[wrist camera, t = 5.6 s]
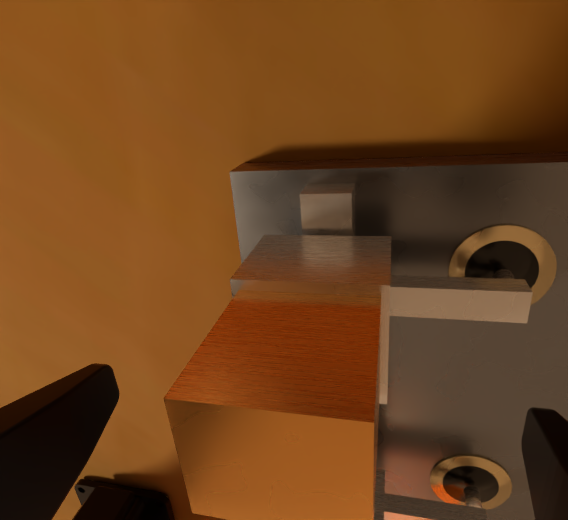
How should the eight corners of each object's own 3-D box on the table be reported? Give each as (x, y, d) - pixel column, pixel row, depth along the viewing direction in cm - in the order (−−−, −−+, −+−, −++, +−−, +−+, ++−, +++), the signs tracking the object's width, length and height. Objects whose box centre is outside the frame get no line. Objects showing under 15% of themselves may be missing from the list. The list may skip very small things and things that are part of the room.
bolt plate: (525, 516, 20) (571, 676, 15) (280, 477, 23) (246, 599, 18) (610, 150, 13) (754, 208, 8) (243, 162, 16) (169, 210, 11)
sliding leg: (505, 325, 14) (624, 605, 7) (281, 312, 16) (185, 520, 9) (521, 224, 13) (693, 442, 5) (272, 223, 15) (149, 383, 7)
